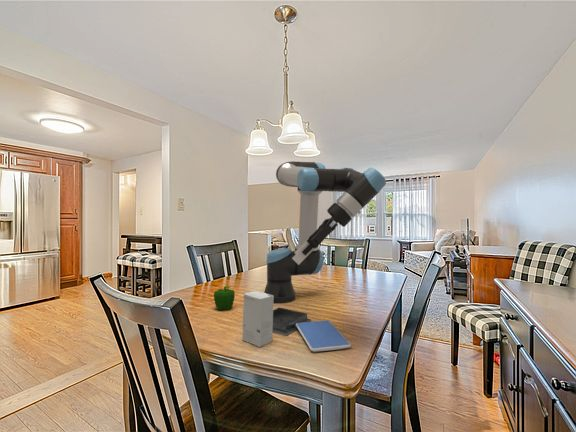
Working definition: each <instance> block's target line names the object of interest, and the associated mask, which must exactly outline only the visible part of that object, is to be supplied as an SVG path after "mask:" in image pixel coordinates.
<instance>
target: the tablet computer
mask: <svg viewBox="0 0 576 432" xmlns="http://www.w3.org/2000/svg"><path fill="white" fill-rule="evenodd" d="M296 327H297V328H298V332H299V333H300V335H301V337H302V338H303V339H304V341H305V343H306V344H307V346H308V348H309V350H310V351H311V352H325V351H335V350H336V351H337V350H344V349H348V348H351V347H352V344H351V343H350V341H348V339H346V337H345V336H344V335H343V334H342V333H341V332H340V331H339V330H338V329H337V328H336V327H335V325H333V323H332V322H331V321H330V320H317V321H311V322H303V323H296Z"/></svg>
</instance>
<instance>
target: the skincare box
mask: <svg viewBox="0 0 576 432" xmlns="http://www.w3.org/2000/svg"><path fill="white" fill-rule="evenodd" d="M273 300H274V296H273V295H269V294H266V293H264V292H262V291H258V290H254V291H250V292H246V293H243V312H242V315H243V316H242V336H241V337H242V338H241V339H242V341H244V342H247V343H249V344H251V345H254V346H256V347H258V348H261V347H262V346H265V345H268V344H270V343H272V342H273V332H272V331H273V310H274V303H273Z"/></svg>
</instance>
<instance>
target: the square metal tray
mask: <svg viewBox="0 0 576 432" xmlns="http://www.w3.org/2000/svg"><path fill="white" fill-rule="evenodd" d="M303 322H312V318H308V312H302V311H297V310H292V309H289V308H282V307H277V308H275V309H273V331H272V333H274V334H277V333H278V335H281V334H282V335H281V336H285V337H288V336H289V335H291V334H293V333H294V332H296V331H297V330H298V328H297V327H296V323H303ZM298 331H299V330H298Z"/></svg>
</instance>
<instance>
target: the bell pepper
mask: <svg viewBox="0 0 576 432" xmlns="http://www.w3.org/2000/svg"><path fill="white" fill-rule="evenodd" d="M235 295H236V294H235V290H234V289H231V285H225V286H224V287H223V289H222V288H219V289H218V290H216V291H214V293H213V300H214V305H215V308H216V309H217V310H218V311H224V310H230V309H232V308H233V306H234V302H235V297H236V296H235Z"/></svg>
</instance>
